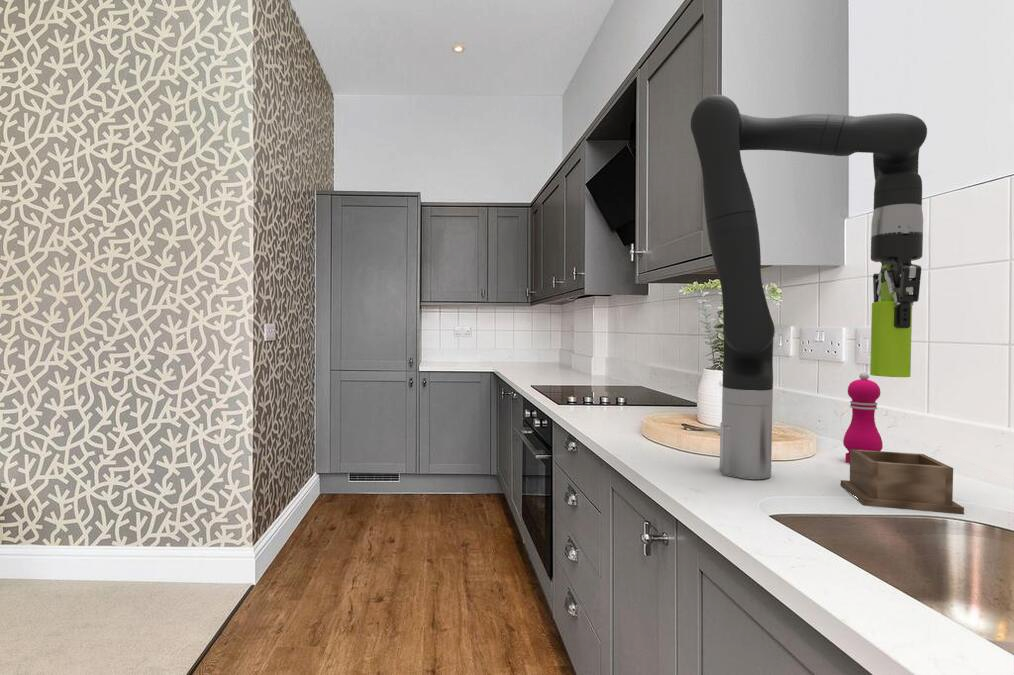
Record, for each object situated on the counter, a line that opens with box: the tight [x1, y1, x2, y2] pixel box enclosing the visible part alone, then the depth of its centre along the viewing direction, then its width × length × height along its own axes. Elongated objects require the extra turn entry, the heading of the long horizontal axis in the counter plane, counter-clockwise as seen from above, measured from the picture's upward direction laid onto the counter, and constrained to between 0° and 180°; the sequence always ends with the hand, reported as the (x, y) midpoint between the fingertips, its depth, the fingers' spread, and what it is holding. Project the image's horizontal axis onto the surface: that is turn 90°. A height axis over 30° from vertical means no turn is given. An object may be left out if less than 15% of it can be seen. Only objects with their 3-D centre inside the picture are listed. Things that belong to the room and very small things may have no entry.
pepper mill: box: [842, 371, 884, 465], centre depth 119 cm, size 7×7×20 cm
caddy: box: [840, 449, 965, 515], centre depth 94 cm, size 14×12×7 cm
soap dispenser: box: [869, 263, 920, 378], centre depth 97 cm, size 6×7×20 cm
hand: (894, 327), depth 97 cm, fingers closed on soap dispenser, 6 cm apart
